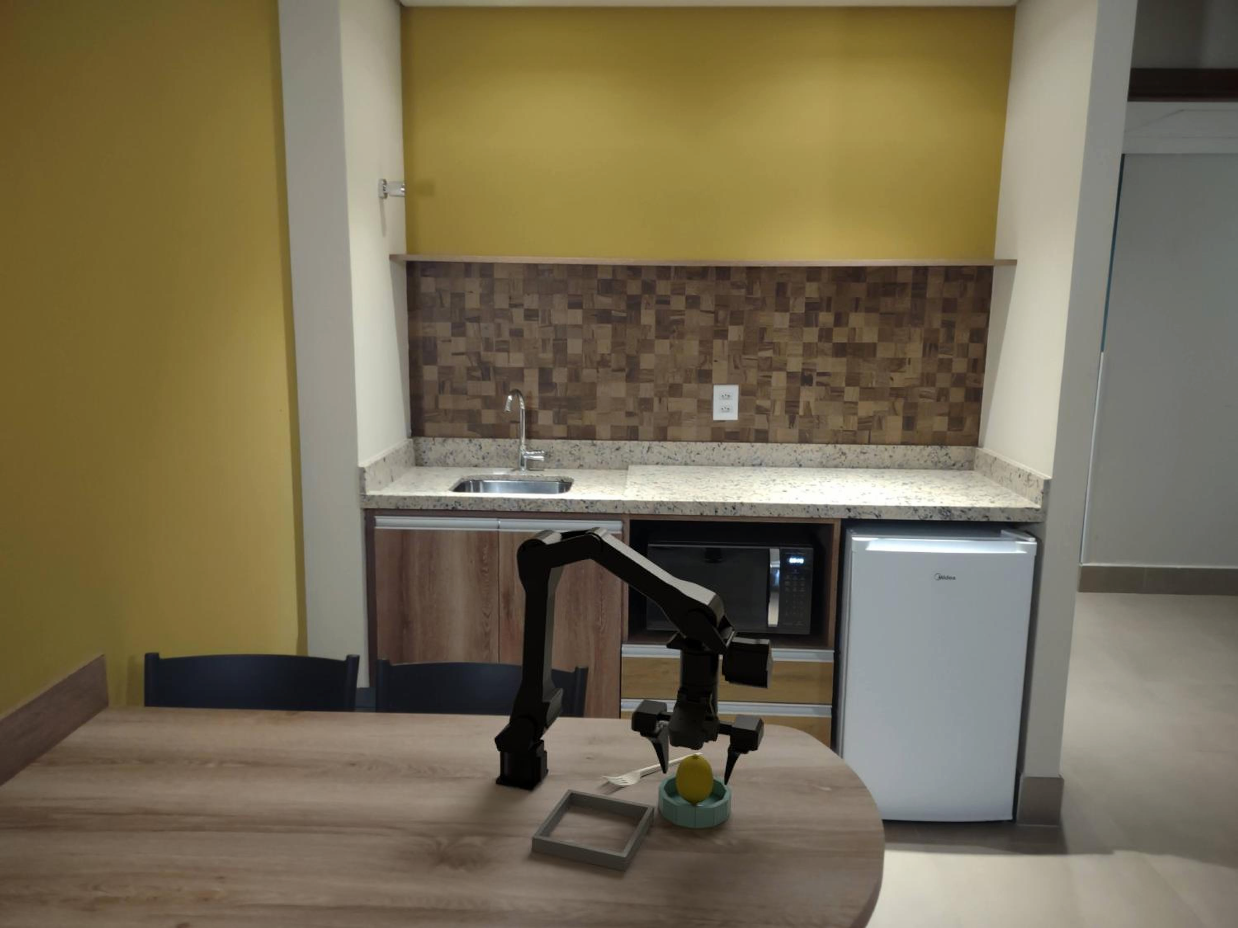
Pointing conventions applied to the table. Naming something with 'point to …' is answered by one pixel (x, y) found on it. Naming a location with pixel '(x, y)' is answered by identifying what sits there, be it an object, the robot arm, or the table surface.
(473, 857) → the table surface
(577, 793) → the parts tray
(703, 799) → the lemon
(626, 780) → the fork
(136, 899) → the table surface
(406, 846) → the table surface
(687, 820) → the bowl
